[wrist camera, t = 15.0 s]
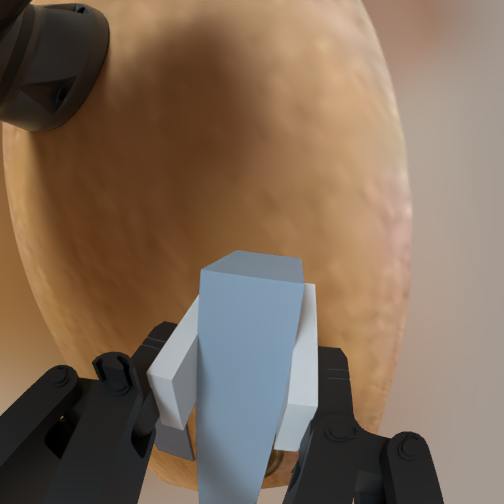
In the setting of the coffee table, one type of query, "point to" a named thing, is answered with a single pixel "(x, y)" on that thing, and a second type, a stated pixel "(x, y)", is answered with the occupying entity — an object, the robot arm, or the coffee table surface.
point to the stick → (242, 368)
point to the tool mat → (173, 440)
